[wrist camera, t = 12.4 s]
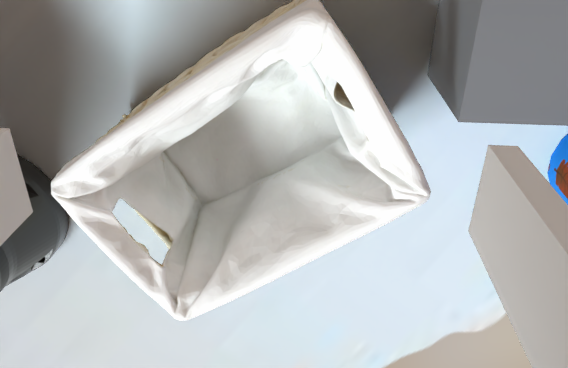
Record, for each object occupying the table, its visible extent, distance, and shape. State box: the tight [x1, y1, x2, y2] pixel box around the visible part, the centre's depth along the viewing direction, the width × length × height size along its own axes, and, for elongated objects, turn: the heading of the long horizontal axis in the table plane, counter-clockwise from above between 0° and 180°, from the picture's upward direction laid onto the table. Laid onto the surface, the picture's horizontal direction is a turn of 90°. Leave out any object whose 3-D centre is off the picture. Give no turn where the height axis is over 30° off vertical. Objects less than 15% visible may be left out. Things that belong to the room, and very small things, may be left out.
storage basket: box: [51, 0, 431, 321], centre depth 40 cm, size 24×16×15 cm
